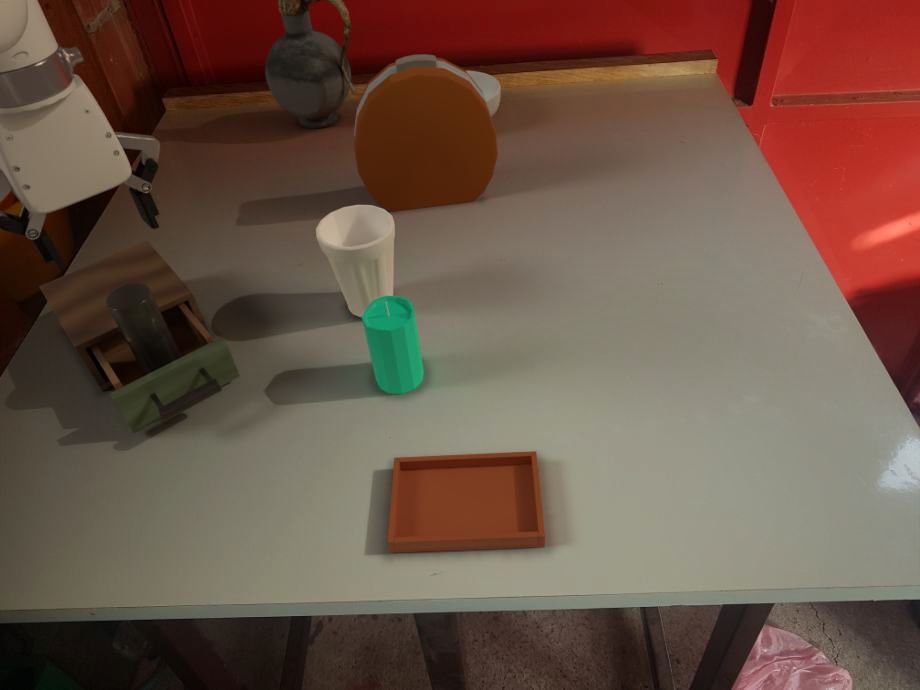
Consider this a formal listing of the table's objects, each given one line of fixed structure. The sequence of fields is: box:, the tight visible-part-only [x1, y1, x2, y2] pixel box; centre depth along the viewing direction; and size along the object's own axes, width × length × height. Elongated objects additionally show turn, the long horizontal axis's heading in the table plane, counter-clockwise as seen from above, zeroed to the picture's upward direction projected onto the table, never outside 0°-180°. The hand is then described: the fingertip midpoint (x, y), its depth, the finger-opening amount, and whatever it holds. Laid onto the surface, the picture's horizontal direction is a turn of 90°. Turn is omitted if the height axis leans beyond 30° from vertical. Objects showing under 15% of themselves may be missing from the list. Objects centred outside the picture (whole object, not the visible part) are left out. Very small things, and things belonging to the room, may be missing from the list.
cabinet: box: [38, 240, 211, 392], centre depth 92 cm, size 16×15×8 cm
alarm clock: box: [353, 53, 499, 212], centre depth 109 cm, size 22×10×23 cm, turn 97°
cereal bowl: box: [466, 70, 502, 118], centre depth 132 cm, size 17×17×7 cm
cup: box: [315, 204, 396, 318], centre depth 91 cm, size 10×10×13 cm
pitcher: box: [264, 0, 358, 129], centre depth 128 cm, size 11×19×30 cm, turn 66°
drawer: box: [90, 303, 241, 434], centre depth 84 cm, size 19×14×6 cm
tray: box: [386, 450, 546, 554], centre depth 71 cm, size 15×10×2 cm
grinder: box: [106, 283, 182, 376], centre depth 82 cm, size 5×5×12 cm
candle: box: [361, 295, 425, 395], centre depth 81 cm, size 6×6×12 cm
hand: (106, 243), depth 71 cm, fingers open, 9 cm apart
